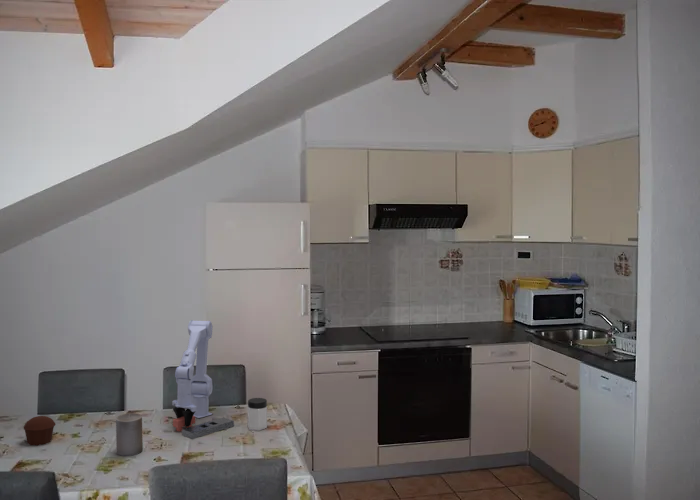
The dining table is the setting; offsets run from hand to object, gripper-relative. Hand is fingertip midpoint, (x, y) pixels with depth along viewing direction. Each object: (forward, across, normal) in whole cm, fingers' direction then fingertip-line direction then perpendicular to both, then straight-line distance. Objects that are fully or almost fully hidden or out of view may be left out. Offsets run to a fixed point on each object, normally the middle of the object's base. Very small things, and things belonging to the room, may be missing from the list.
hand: (184, 424), depth 280 cm
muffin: (+2, -30, -48) cm, 57 cm away
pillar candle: (+2, +6, -30) cm, 31 cm away
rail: (+2, +9, +6) cm, 11 cm away
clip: (+2, 0, 0) cm, 2 cm away
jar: (+2, +21, +23) cm, 31 cm away
